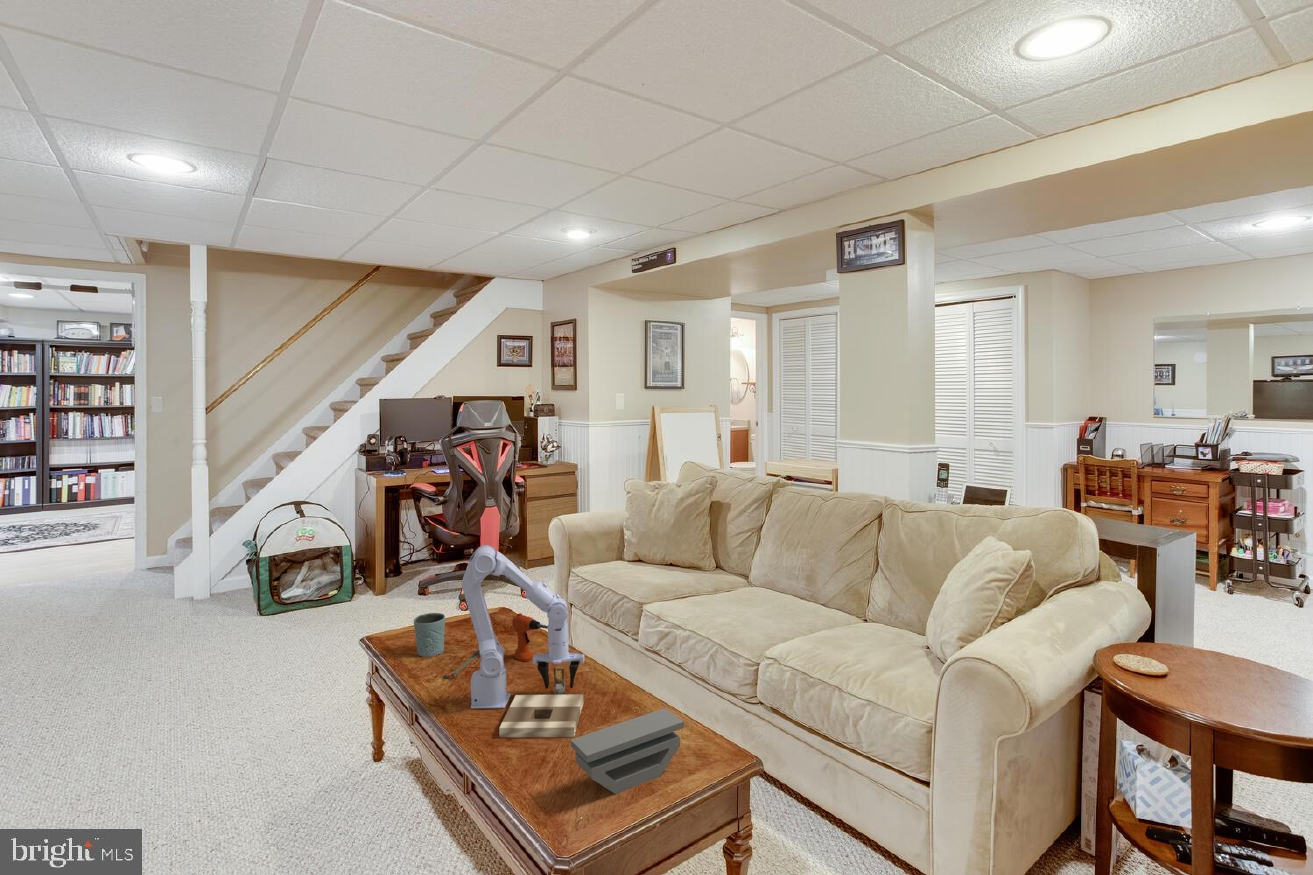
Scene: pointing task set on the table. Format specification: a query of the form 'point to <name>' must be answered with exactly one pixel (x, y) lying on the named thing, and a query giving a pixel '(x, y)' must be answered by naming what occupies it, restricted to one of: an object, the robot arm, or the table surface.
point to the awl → (559, 680)
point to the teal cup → (429, 634)
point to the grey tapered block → (629, 750)
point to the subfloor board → (542, 716)
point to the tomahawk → (463, 665)
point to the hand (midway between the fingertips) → (559, 686)
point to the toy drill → (524, 635)
